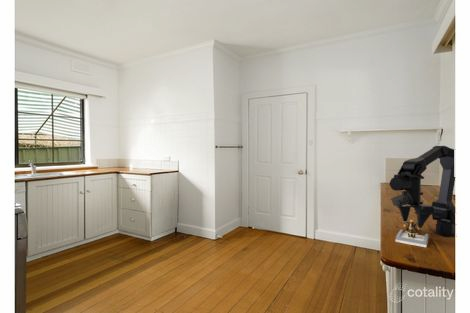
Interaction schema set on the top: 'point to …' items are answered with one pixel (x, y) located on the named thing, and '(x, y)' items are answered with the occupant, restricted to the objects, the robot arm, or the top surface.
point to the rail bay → (412, 239)
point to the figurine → (411, 228)
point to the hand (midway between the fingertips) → (412, 224)
